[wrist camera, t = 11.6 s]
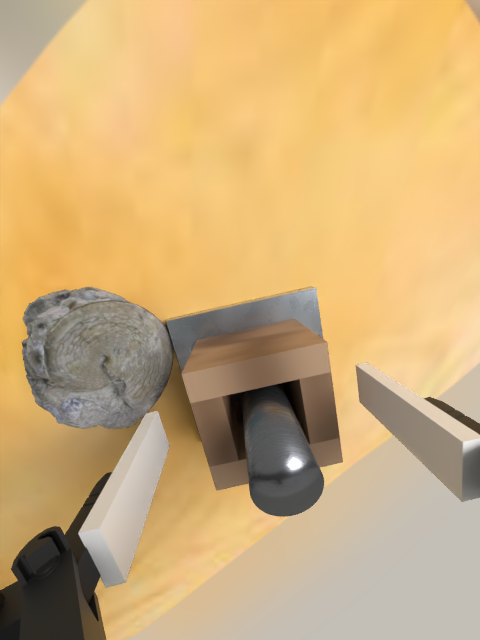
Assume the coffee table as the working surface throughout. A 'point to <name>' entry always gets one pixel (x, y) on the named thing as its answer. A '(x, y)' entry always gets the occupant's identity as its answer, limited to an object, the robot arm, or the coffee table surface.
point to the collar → (256, 372)
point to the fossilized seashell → (95, 357)
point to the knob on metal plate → (265, 402)
